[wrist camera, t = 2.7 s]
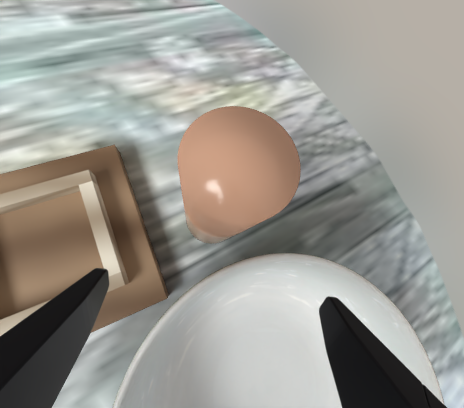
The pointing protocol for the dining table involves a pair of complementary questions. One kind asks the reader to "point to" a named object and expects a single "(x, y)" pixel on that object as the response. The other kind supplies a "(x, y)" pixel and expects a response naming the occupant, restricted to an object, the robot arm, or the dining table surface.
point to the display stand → (74, 237)
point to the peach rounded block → (235, 172)
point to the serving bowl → (262, 338)
